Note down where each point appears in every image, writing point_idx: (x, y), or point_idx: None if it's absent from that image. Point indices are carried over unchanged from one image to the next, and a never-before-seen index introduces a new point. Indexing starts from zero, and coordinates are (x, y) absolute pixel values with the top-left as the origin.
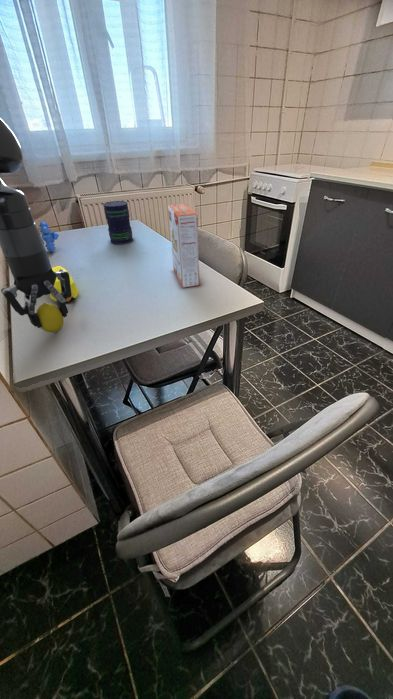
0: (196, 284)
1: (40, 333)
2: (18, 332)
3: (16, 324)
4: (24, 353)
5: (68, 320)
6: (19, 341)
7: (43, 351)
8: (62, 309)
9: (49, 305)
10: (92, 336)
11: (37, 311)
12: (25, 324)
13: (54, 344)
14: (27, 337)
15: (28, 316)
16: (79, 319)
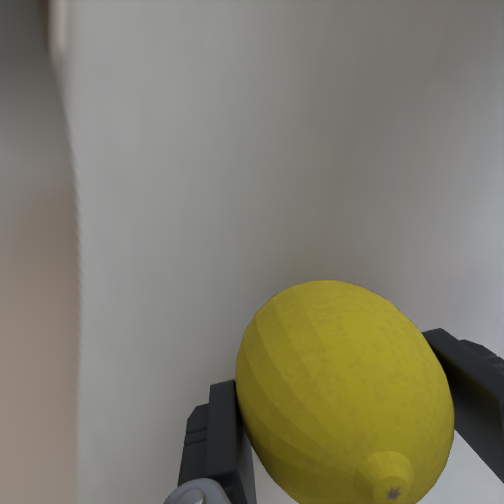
0: None
1: (222, 278)
2: (95, 179)
3: (87, 41)
4: (112, 436)
5: (413, 219)
6: (94, 299)
7: None
8: (471, 443)
9: (417, 494)
10: (452, 465)
11: (276, 459)
12: (149, 87)
13: None
14: (143, 280)
15: (181, 477)
16: (472, 249)
